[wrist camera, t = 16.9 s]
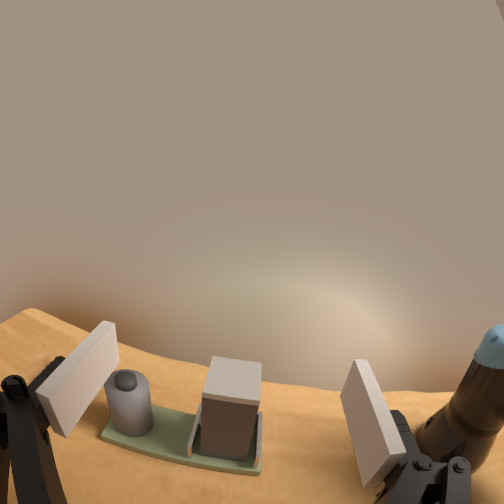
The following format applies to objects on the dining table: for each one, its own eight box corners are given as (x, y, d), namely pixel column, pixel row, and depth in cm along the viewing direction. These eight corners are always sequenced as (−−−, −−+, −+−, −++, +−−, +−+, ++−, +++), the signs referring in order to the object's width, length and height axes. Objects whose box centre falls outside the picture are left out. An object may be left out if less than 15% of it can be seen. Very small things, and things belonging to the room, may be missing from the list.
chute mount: (259, 424, 38) (262, 412, 37) (256, 468, 30) (260, 457, 29) (199, 415, 38) (199, 402, 37) (187, 458, 30) (187, 446, 29)
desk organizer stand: (261, 429, 38) (272, 383, 35) (259, 475, 29) (272, 434, 27) (124, 401, 39) (115, 352, 36) (102, 440, 30) (86, 391, 27)
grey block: (249, 426, 37) (261, 362, 34) (245, 462, 31) (259, 400, 27) (208, 421, 37) (212, 355, 34) (200, 455, 31) (202, 392, 27)
